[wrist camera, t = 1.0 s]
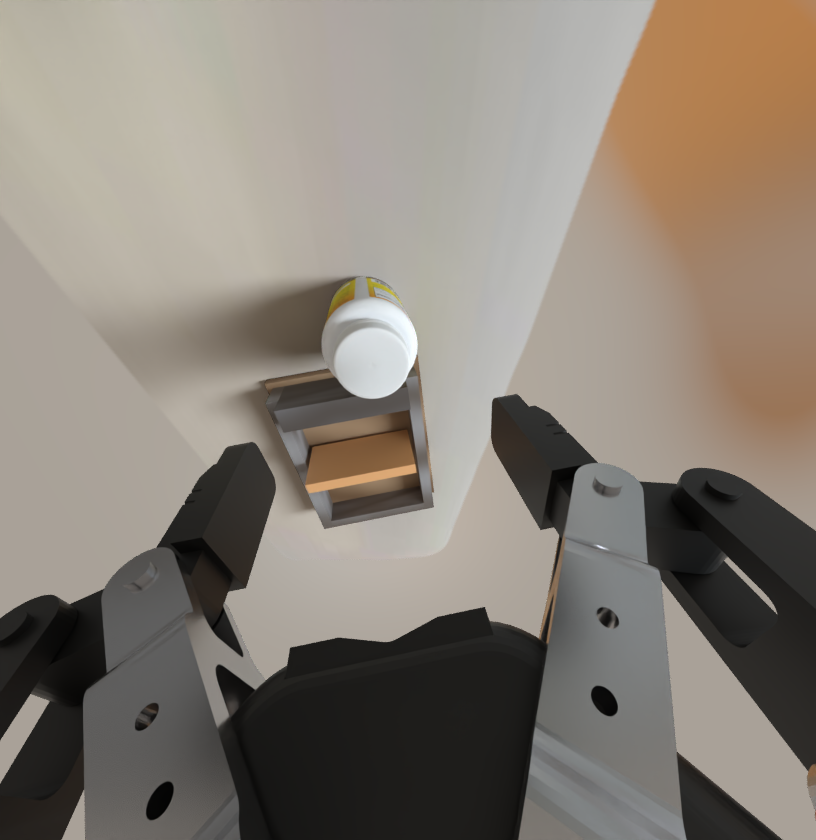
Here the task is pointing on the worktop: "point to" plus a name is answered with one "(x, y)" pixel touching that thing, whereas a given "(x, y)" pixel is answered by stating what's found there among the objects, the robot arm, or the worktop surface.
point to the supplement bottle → (368, 338)
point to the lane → (346, 420)
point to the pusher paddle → (360, 461)
